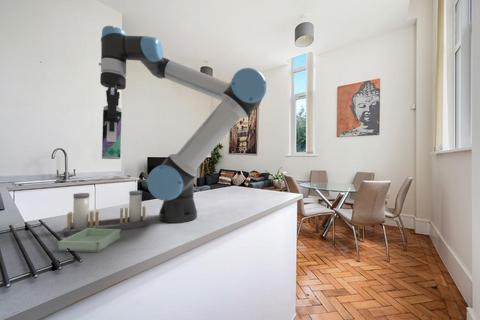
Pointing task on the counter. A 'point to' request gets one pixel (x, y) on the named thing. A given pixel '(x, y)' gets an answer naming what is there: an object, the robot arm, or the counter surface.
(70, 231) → the fuse frame
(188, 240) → the counter surface
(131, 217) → the fuse
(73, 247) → the tray
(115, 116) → the robot arm
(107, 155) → the spray can
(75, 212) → the fuse
